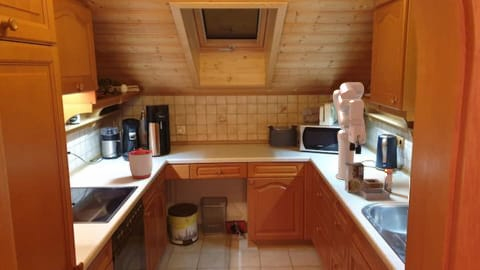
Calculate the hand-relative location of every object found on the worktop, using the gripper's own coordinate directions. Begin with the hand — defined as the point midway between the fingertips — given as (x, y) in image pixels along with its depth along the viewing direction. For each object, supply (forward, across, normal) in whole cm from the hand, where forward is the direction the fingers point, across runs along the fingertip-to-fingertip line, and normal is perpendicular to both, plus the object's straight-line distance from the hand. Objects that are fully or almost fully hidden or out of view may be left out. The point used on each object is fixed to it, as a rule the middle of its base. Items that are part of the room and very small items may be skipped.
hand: (355, 152), depth 213 cm
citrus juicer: (+23, -44, -131) cm, 140 cm away
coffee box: (+23, 0, 0) cm, 23 cm away
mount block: (+23, -2, +11) cm, 25 cm away
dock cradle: (+23, +10, +8) cm, 26 cm away
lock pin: (+23, +4, +18) cm, 29 cm away
